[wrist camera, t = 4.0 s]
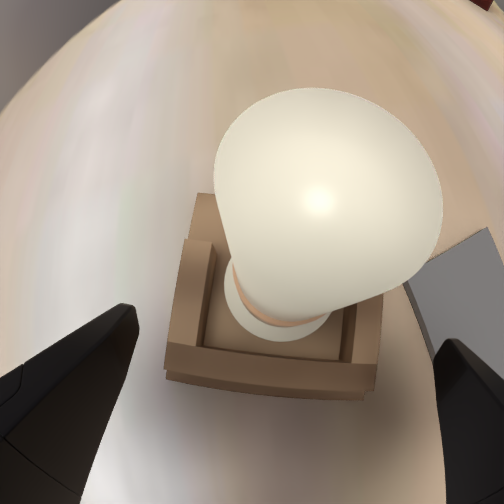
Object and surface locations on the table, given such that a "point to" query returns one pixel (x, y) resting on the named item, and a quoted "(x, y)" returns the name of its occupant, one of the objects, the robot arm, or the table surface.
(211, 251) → the walnut tray
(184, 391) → the table surface
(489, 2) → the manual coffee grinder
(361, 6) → the table surface
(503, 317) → the charcoal mat
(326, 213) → the white tall banded cylinder
